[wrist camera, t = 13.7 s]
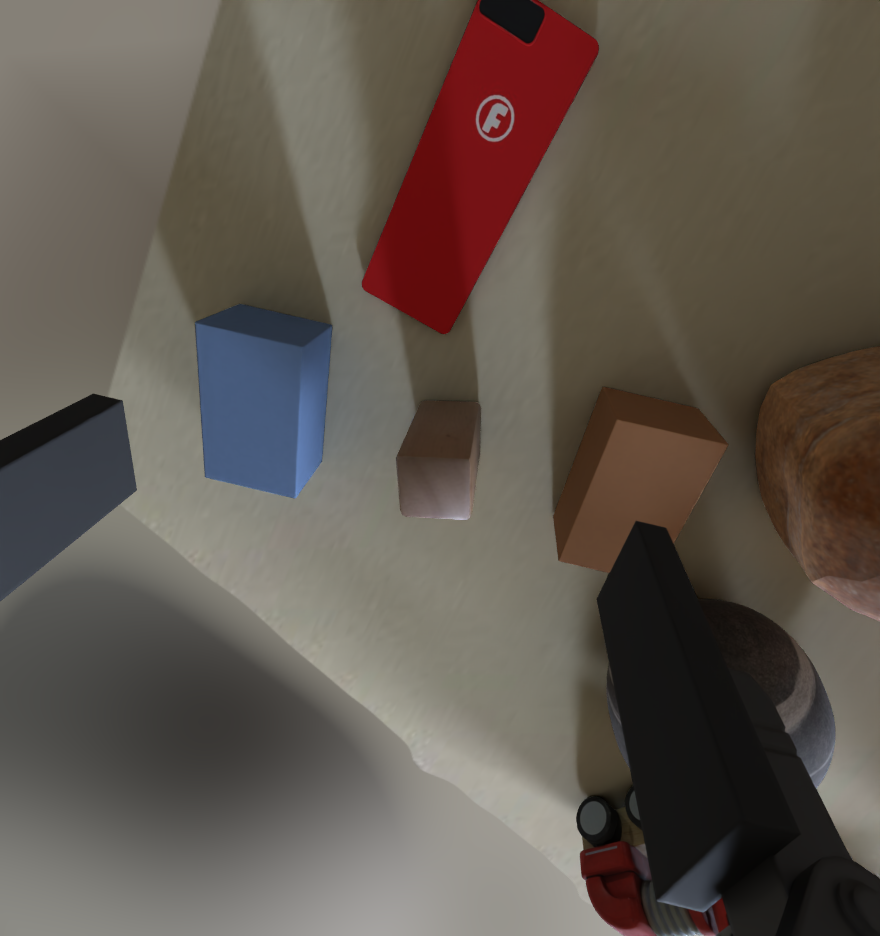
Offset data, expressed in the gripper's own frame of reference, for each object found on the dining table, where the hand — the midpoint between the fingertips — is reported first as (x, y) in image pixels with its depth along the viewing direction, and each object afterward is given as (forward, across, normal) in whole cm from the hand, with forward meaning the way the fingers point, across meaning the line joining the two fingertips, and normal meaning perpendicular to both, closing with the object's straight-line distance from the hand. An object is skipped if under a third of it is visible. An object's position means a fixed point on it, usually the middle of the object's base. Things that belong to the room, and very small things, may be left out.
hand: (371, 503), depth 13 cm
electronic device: (+20, -1, +7) cm, 21 cm away
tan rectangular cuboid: (+19, +13, -7) cm, 24 cm away
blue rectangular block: (+19, -10, -7) cm, 23 cm away
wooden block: (+20, +1, -7) cm, 21 cm away
